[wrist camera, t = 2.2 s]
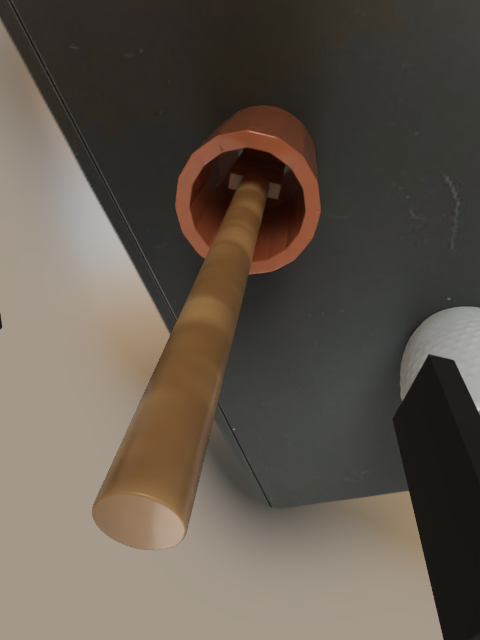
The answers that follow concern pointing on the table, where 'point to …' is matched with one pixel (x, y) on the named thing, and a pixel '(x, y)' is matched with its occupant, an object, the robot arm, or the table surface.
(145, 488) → the wooden rod
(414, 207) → the table surface
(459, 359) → the mug
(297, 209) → the crock
